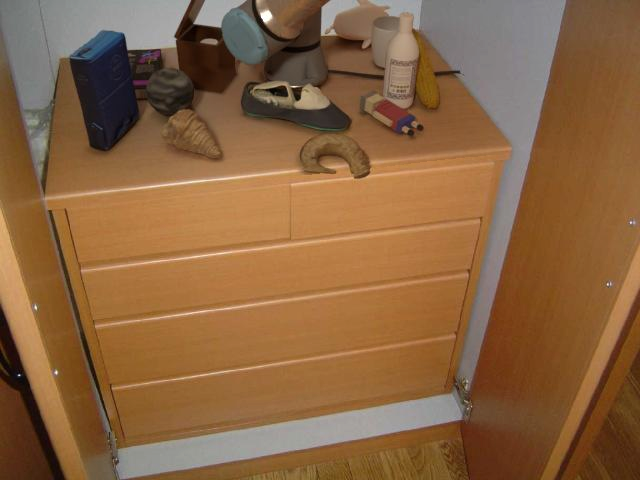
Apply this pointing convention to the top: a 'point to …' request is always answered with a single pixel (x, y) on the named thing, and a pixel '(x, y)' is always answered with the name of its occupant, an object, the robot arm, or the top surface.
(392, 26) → the mug
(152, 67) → the box
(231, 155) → the top surface
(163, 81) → the decorative stone
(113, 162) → the top surface
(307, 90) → the ballet flat
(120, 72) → the blue rectangular carton
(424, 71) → the food
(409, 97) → the bath foam
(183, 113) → the seashell
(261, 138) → the top surface
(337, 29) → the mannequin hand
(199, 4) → the lid
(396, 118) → the toy
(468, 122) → the top surface
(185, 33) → the chest
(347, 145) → the artifact
